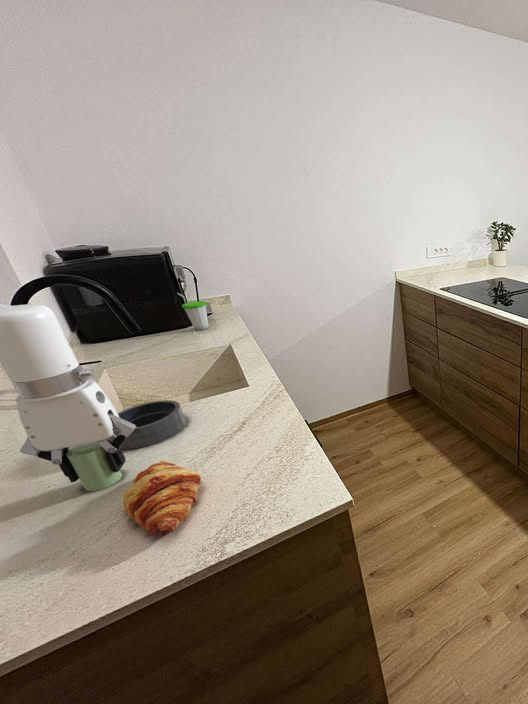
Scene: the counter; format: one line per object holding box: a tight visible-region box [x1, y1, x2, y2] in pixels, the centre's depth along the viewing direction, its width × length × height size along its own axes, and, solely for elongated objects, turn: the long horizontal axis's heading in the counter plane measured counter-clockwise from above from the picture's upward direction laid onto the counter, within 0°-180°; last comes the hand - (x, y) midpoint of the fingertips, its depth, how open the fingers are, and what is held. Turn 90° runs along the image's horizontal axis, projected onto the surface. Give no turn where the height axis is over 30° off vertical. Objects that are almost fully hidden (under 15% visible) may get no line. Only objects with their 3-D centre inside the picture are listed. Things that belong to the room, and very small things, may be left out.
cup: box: [176, 292, 210, 331], centre depth 147 cm, size 8×8×15 cm
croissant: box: [122, 460, 202, 536], centre depth 63 cm, size 21×10×8 cm, turn 42°
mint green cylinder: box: [66, 442, 123, 492], centre depth 67 cm, size 5×5×8 cm
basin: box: [112, 399, 187, 450], centre depth 82 cm, size 13×13×5 cm
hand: (98, 471), depth 67 cm, fingers closed on mint green cylinder, 5 cm apart
